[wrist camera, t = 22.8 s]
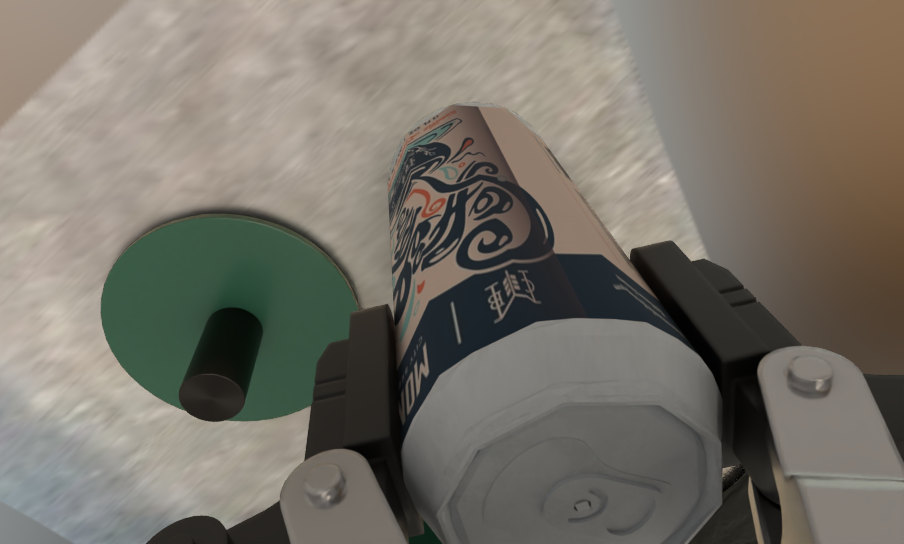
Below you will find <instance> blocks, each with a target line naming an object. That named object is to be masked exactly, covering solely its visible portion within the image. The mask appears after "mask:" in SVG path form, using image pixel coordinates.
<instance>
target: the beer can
mask: <svg viewBox="0 0 904 544" xmlns="http://www.w3.org/2000/svg"><path fill="white" fill-rule="evenodd" d="M388 196H389V217H390V238H391V259H392V280H393V301H394V322H395V342H396V363H397V384H398V405H399V426H400V447H401V459H402V468H403V479H404V483H405V486H406V488H407V490H408V493H409V495H410V497H411V499H412V502H413V504H414V506H415V508H416V511H417V512H418V513H419V514H420V516H421V517H422V518H423V519H424V521H425V522H426V523H427V524H428V526H429V527H430V528H431V529H432V531H433V532H434V533H435V535H436V536H437V537H438V538H439V540H440V541H441V542H442V544H688V543H689V542H690V541H691V540H692V539H693V537H694V536H695V535H696V534H697V533H698V532H699V531H700V529H701V528H702V527H703V526H704V525H705V524H706V522H707V521H708V520H709V519H710V518H711V517H712V515H713V514H714V513H715V512H716V511H717V510H718V509H719V507H720V506H721V505H722V466H723V455H722V443H721V437H722V409H723V400H722V396H721V393H720V391H719V388H718V386H717V383H716V381H715V379H714V376H713V374H712V372H711V371H710V370H709V368H708V367H707V365H706V364H705V363H704V361H703V360H702V358H701V357H700V356H699V354H698V353H697V352H696V350H695V349H694V348H693V346H692V345H691V344H690V342H689V341H688V339H687V338H686V337H685V335H684V334H683V333H682V331H681V330H680V328H679V327H678V326H677V324H676V323H675V322H674V320H673V319H672V317H671V316H670V315H669V313H668V312H667V311H666V309H665V308H664V306H663V305H662V304H661V302H660V301H659V300H658V298H657V297H656V295H655V294H654V293H653V291H652V290H651V289H650V287H649V286H648V284H647V283H646V282H645V280H644V279H643V278H642V276H641V275H640V273H639V272H638V271H637V269H636V268H635V267H634V265H633V264H632V262H631V261H630V260H629V258H628V257H627V256H626V254H625V253H624V252H623V250H622V249H621V247H620V246H619V245H618V243H617V242H616V241H615V239H614V238H613V236H612V235H611V234H610V232H609V231H608V230H607V228H606V227H605V225H604V224H603V223H602V221H601V220H600V219H599V217H598V216H597V214H596V213H595V212H594V210H593V209H592V208H591V206H590V205H589V203H588V202H587V201H586V199H585V198H584V197H583V195H582V194H581V192H580V191H579V190H578V188H577V187H576V186H575V184H574V183H573V181H572V180H571V179H570V177H569V176H568V175H567V173H566V172H565V171H564V169H563V168H562V166H561V165H560V164H559V162H558V161H557V160H556V158H555V157H554V155H553V154H552V153H551V151H550V150H549V149H548V147H547V146H546V144H545V143H544V142H543V140H542V139H541V138H540V136H539V135H538V134H537V132H536V131H535V130H534V129H533V127H532V126H531V125H530V124H529V123H528V122H526V121H525V120H524V119H523V118H522V117H520V116H519V115H518V114H516V113H514V112H512V111H510V110H508V109H506V108H504V107H501V106H497V105H494V104H491V103H480V102H466V103H458V104H453V105H450V106H447V107H444V108H441V109H439V110H437V111H435V112H433V113H432V114H430V115H428V116H426V117H425V118H423V119H421V120H420V121H419V122H418V123H417V124H415V125H414V126H413V128H412V129H411V130H410V131H409V132H408V133H407V134H406V135H405V136H404V138H403V139H402V140H401V142H400V144H399V146H398V148H397V150H396V152H395V154H394V156H393V160H392V164H391V167H390V171H389V176H388Z"/></svg>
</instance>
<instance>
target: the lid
mask: <svg viewBox="0 0 904 544" xmlns="http://www.w3.org/2000/svg"><path fill="white" fill-rule="evenodd" d="M354 311H359V308H358V303H357V300H356V297H355V295H354V292H353V289H352V288H351V286H350V284H349V282H348V280H347V278H346V277H345V275H344V274H343V273H342V271H341V270H340V269H339V267H338V266H337V265H336V264H335V262H334V261H333V260H332V259H331V258H330V257H329V256H328V255H327V254H326V253H325V252H323V251H322V250H321V249H320V248H318V247H317V246H316V245H315V244H314V243H312V242H311V241H309V240H307V239H306V238H304V237H303V236H301V235H299V234H298V233H296V232H294V231H292V230H289V229H287V228H285V227H283V226H281V225H278V224H275V223H272V222H269V221H266V220H263V219H258V218H254V217H250V216H244V215H235V214H204V215H195V216H189V217H185V218H181V219H177V220H173V221H171V222H168V223H166V224H163V225H161V226H158V227H156V228H154V229H153V230H151V231H149V232H147V233H146V234H144V235H142V236H141V237H140V238H139V239H137V240H136V241H135V242H133V243H132V244H131V245H130V246H129V247H128V248H127V249H126V250H125V251H124V252H123V253H122V255H121V256H120V257H119V258H118V260H117V261H116V263H115V264H114V266H113V267H112V269H111V271H110V273H109V275H108V277H107V279H106V282H105V284H104V288H103V293H102V297H101V319H102V326H103V330H104V333H105V336H106V340H107V342H108V344H109V346H110V348H111V350H112V352H113V354H114V355H115V357H116V358H117V360H118V362H119V363H120V365H121V366H122V367H123V368H124V369H125V370H126V372H127V373H128V374H129V375H130V376H131V377H132V378H133V379H134V380H135V381H136V382H137V383H139V384H140V385H141V386H142V387H143V388H145V389H146V390H147V391H149V392H150V393H152V394H153V395H154V396H156V397H158V398H160V399H161V400H163V401H165V402H166V403H168V404H171V405H173V406H175V407H177V408H179V409H182V410H185V411H187V412H188V413H189V414H190V415H192V416H194V417H196V418H198V419H201V420H205V421H211V422H219V421H225V420H227V421H259V420H267V419H273V418H277V417H282V416H286V415H289V414H292V413H294V412H297V411H300V410H302V409H304V408H306V407H308V406H310V405H312V402H313V398H312V397H313V389H314V386H315V374H316V366H317V361H318V360H319V358H320V357H321V355H322V354H323V352H324V351H325V349H326V348H327V346H328V345H329V343H332V342H336V341H341V340H345V339H349V326H350V314H351V312H354Z"/></svg>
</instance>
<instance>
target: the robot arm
mask: <svg viewBox="0 0 904 544" xmlns="http://www.w3.org/2000/svg"><path fill="white" fill-rule="evenodd" d="M630 261H631V262H632V264H633V265H634V267H635V268H636V269H637V271H638V272H639V273H640V275H641V276H642V278H643V279H644V280H645V282H646V283H647V284H648V286H649V287H650V289H651V290H652V291H653V293H654V294H655V295H656V297H657V298H658V300H659V301H660V302H661V304H662V305H663V306H664V308H665V309H666V311H667V312H668V313H669V315H670V316H671V317H672V319H673V320H674V322H675V323H676V324H677V326H678V327H679V328H680V330H681V331H682V333H683V334H684V335H685V337H686V338H687V339H688V341H689V342H690V344H691V345H692V346H693V348H694V349H695V350H696V352H697V353H698V354H699V356H700V357H701V358H702V360H703V361H704V363H705V364H706V365H707V367H708V368H709V370H710V371H711V372H712V374H713V376H714V379H715V381H716V383H717V386H718V388H719V391H720V393H721V396H722V400H723V409H722V437H721V443H722V455H723V466H722V468H726V467H730V466H735V465H739V464H742V466H743V467H744V469H745V470H746V472H747V473H748V475H749V487H748V494H749V500H750V505H751V511H752V516H753V521H754V526H755V531H756V536H757V541H758V544H904V375H871V374H862V373H861V371H860V370H859V369H858V368H857V367H856V366H855V365H854V364H853V363H852V362H851V361H849V360H847V359H846V358H844V357H843V356H840V355H838V354H836V353H833V352H831V351H828V350H824V349H820V348H815V347H808V346H802V345H801V344H800V343H799V342H798V341H797V340H796V339H795V338H794V337H793V336H792V335H791V334H790V333H789V331H788V330H787V329H786V328H785V327H784V326H783V325H782V324H781V323H780V322H779V321H778V320H777V319H776V318H775V317H774V316H773V315H772V314H771V313H770V312H769V311H768V310H767V309H766V308H765V307H764V306H763V305H762V304H761V303H760V302H757V301H756V298H755V297H754V296H753V295H752V294H751V293H750V292H749V291H748V290H747V289H744V287H743V285H742V284H741V283H740V282H739V281H738V280H737V278H735V276H734V275H733V274H732V273H731V272H730V271H729V270H727V269H725V268H723V267H721V266H719V265H716V264H714V263H712V262H710V261H708V260H706V259H701V260H696V261H692V262H691V261H690V260H689V259H688V257H687V256H686V255H685V254H684V253H683V252H682V251H681V250H680V249H679V247H678V246H677V245H676V244H675V243H674V242H673V241H670V240H669V241H665V242H660V243H656V244H651V245H647V246H643V247H638V248H634V249H632V250H631V253H630ZM312 398H313V402H312V405H311V413H310V421H309V429H308V437H307V445H306V452H305V460H304V462H303V463H301V464H300V465H299V466H298V467H297V468H296V469H295V470H294V471H293V472H292V473H291V474H290V475H289V477H288V478H287V480H286V481H285V483H284V485H283V487H282V490H281V494H280V500H279V501H278V502H277V503H275V504H274V505H273V506H271V507H270V508H268V509H266V510H265V511H263V512H261V513H259V514H257V515H255V516H253V517H251V518H249V519H247V520H245V521H243V522H241V523H239V524H237V525H235V526H233V527H232V528H230V529H228V530H226V529H225V527H224V526H223V524H222V523H221V522H220V521H218V520H217V519H215V518H213V517H209V516H193V517H188V518H185V519H182V520H179V521H177V522H175V523H173V524H171V525H169V526H167V527H166V528H164V529H163V530H161V531H160V532H159V533H157V534H156V535H155V536H153V537H152V538H151V539H150V540H149V541H148V542H147V543H146V544H409V541H408V538H409V537H413V536H418V535H422V534H424V522H423V518H422V517H421V516H420V514H419V513H418V512H417V511H416V508H415V506H414V504H413V502H412V499H411V497H410V495H409V493H408V490H407V488H406V486H405V483H404V479H403V468H402V459H401V447H400V426H399V405H398V384H397V363H396V342H395V323H394V319H393V316H392V313H391V310H390V307H389V305H388V304H385V305H380V306H376V307H372V308H367V309H363V310H359V311H354V312H351V314H350V326H349V339H345V340H341V341H336V342H332V343H329V345H328V346H327V348H326V349H325V351H324V352H323V354H322V355H321V357H320V358H319V360H318V361H317V366H316V374H315V386H314V389H313V397H312Z"/></svg>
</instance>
